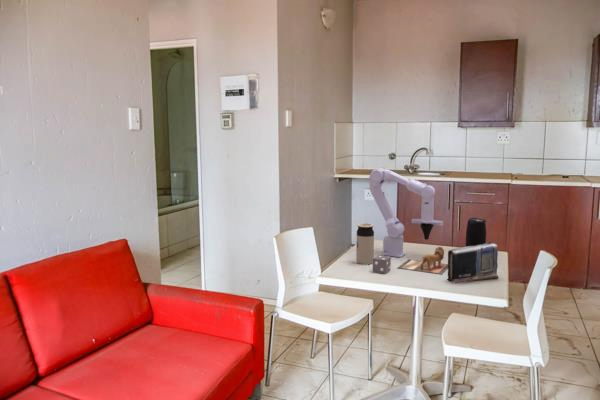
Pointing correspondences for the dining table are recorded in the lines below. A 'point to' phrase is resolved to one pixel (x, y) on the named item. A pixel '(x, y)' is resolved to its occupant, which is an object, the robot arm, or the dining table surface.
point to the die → (381, 264)
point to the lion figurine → (433, 258)
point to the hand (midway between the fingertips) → (426, 239)
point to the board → (416, 265)
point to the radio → (472, 263)
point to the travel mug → (365, 243)
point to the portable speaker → (475, 232)
